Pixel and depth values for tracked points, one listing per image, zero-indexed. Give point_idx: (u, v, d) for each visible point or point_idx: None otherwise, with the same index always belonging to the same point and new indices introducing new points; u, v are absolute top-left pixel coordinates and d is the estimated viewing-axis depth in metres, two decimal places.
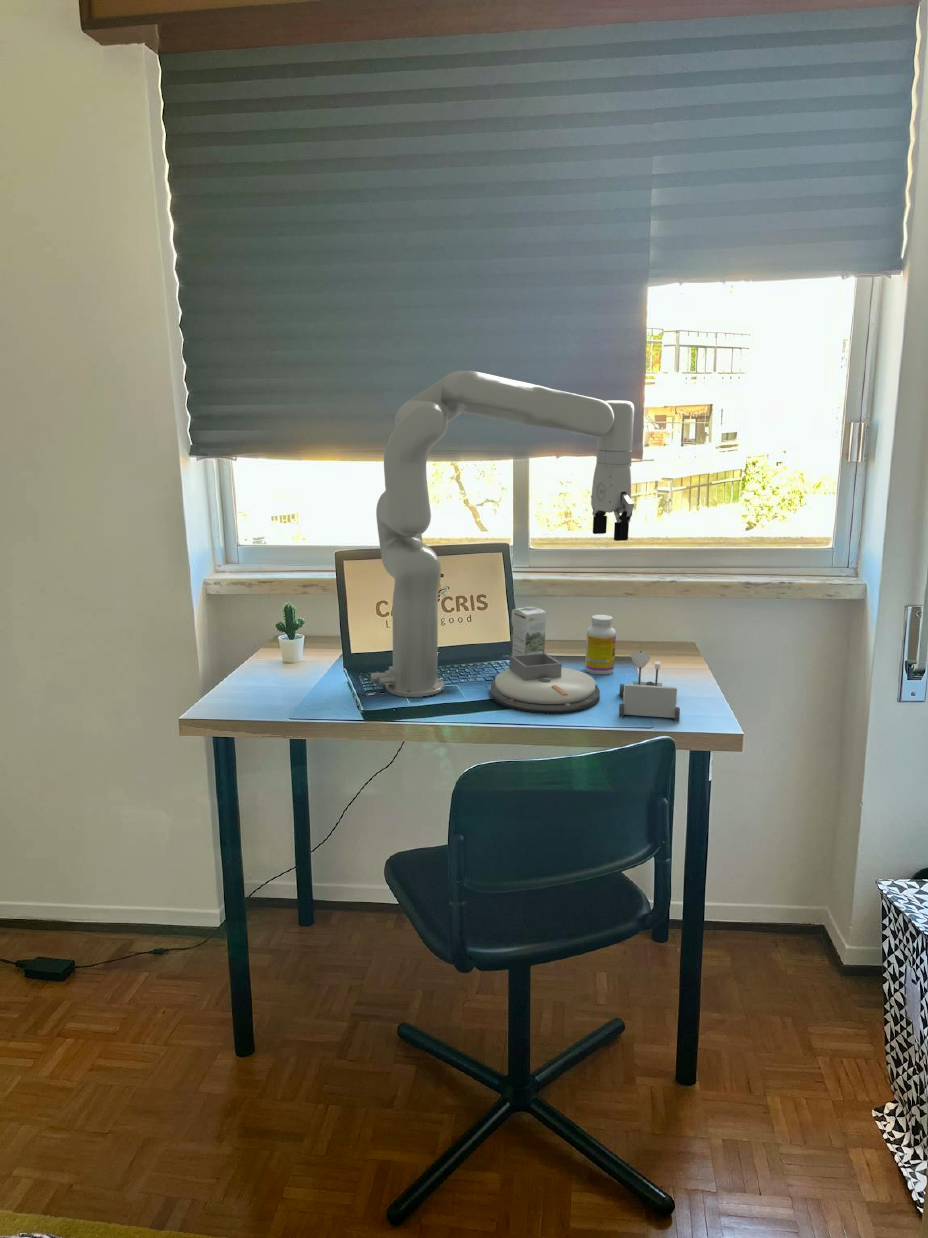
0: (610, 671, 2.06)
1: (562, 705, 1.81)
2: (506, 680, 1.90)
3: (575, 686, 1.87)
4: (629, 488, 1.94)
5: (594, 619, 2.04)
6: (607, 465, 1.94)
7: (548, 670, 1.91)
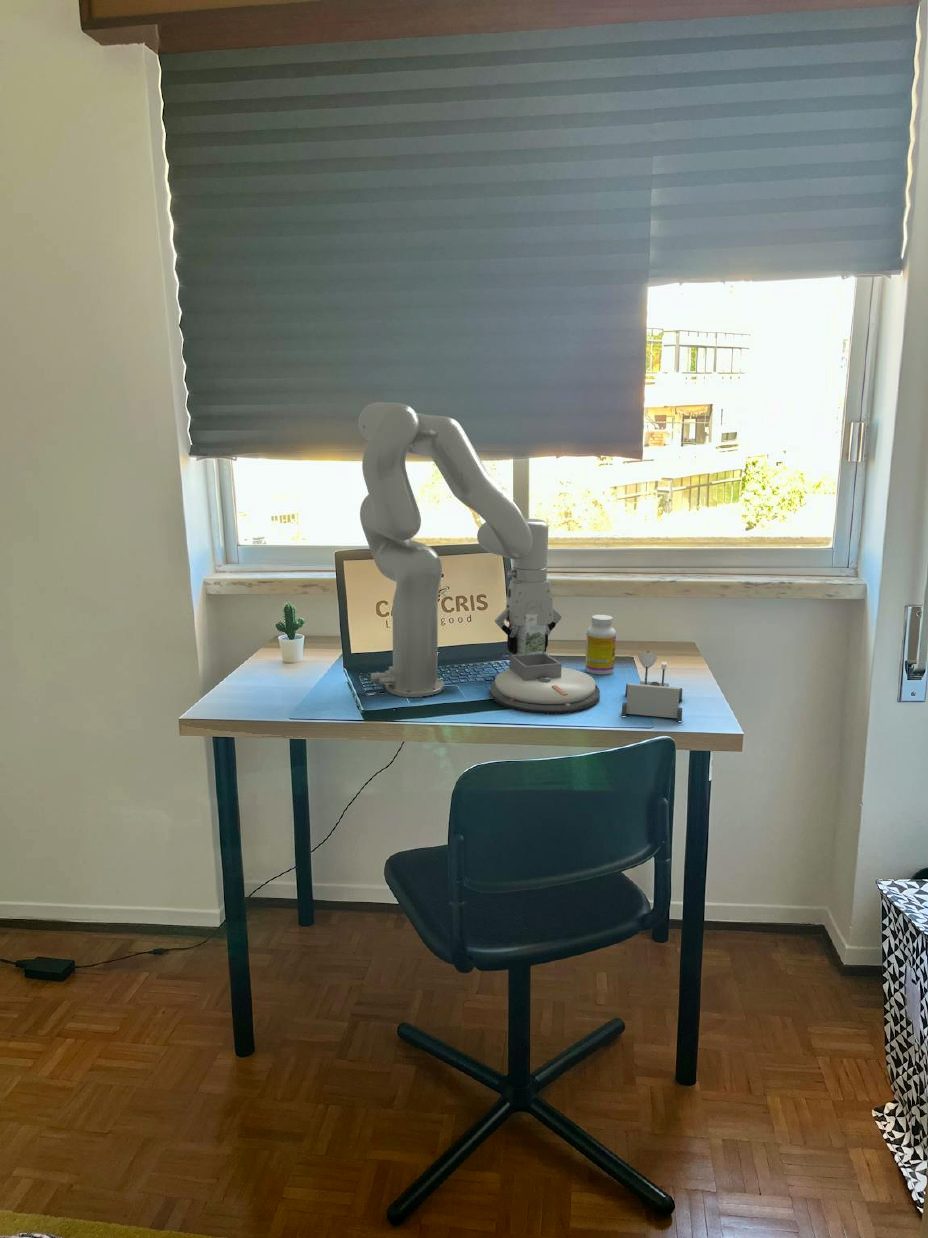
0: (610, 671, 2.06)
1: (562, 705, 1.81)
2: (506, 680, 1.90)
3: (575, 686, 1.87)
4: None
5: (594, 619, 2.04)
6: (544, 582, 2.01)
7: (548, 670, 1.91)
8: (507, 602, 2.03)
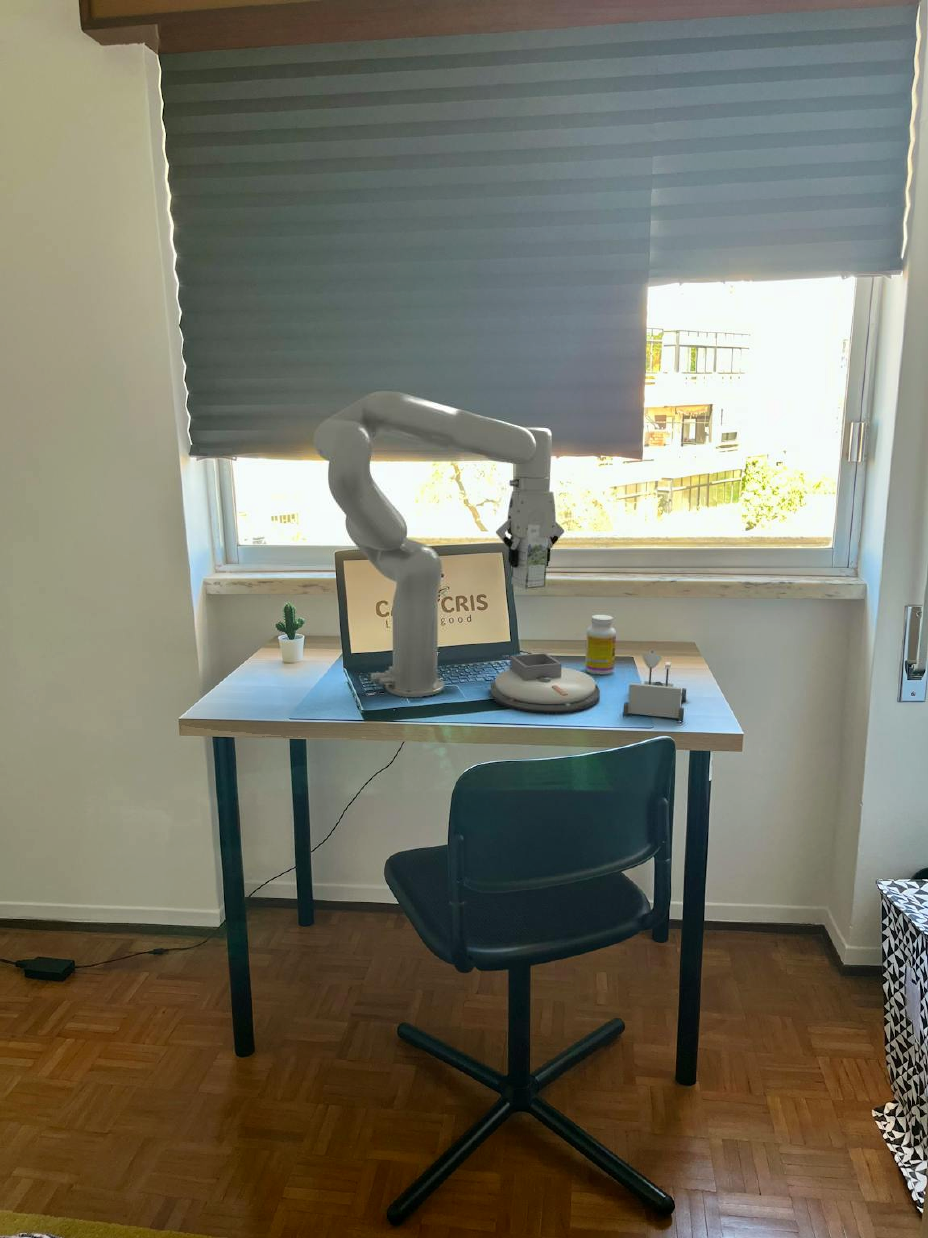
0: (610, 671, 2.06)
1: (562, 705, 1.81)
2: (506, 680, 1.90)
3: (575, 686, 1.87)
4: None
5: (594, 619, 2.04)
6: (547, 491, 1.96)
7: (548, 670, 1.91)
8: (509, 512, 1.98)
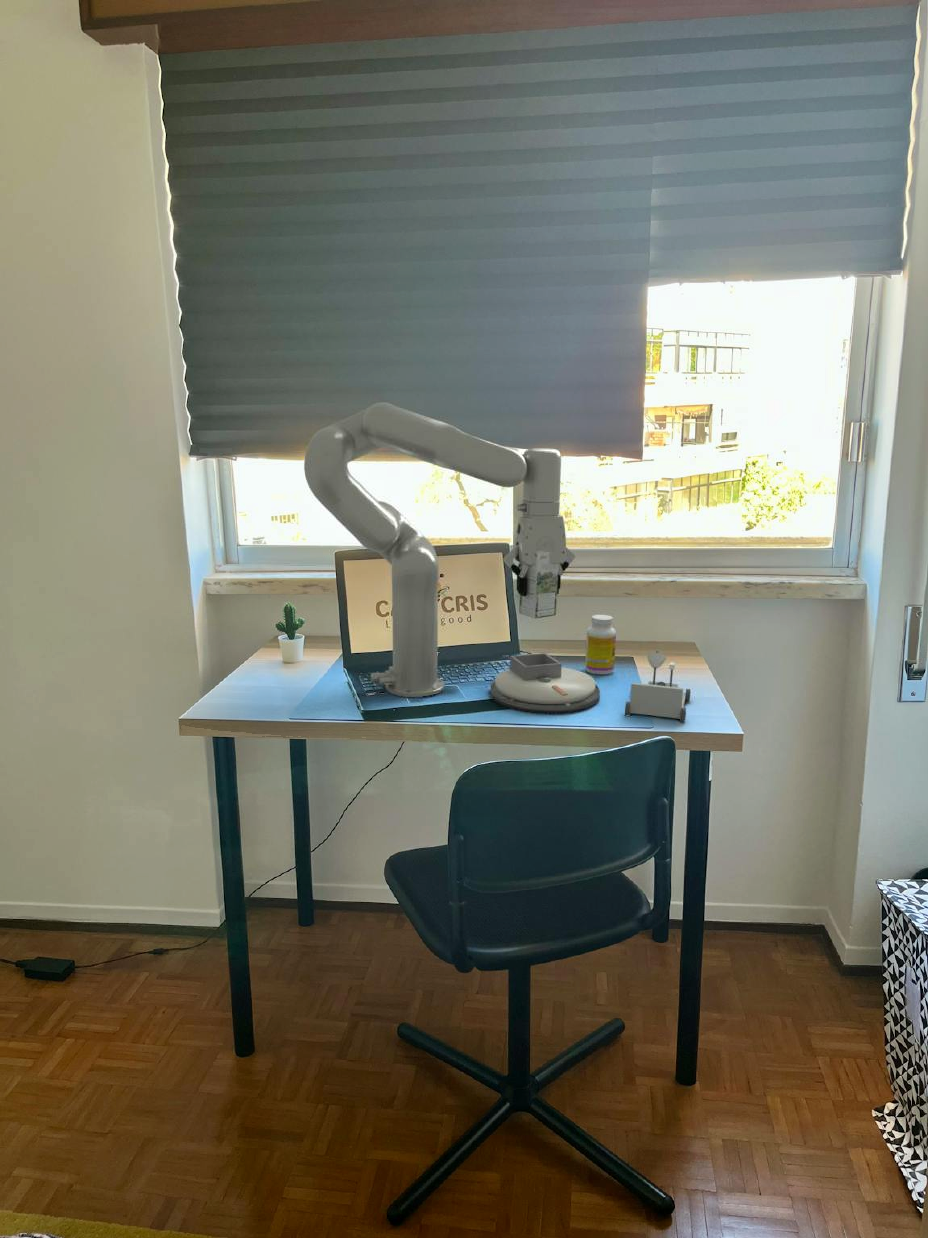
0: (610, 671, 2.06)
1: (562, 705, 1.81)
2: (506, 680, 1.90)
3: (575, 686, 1.87)
4: None
5: (594, 619, 2.04)
6: (557, 516, 1.85)
7: (548, 670, 1.91)
8: (517, 539, 1.87)
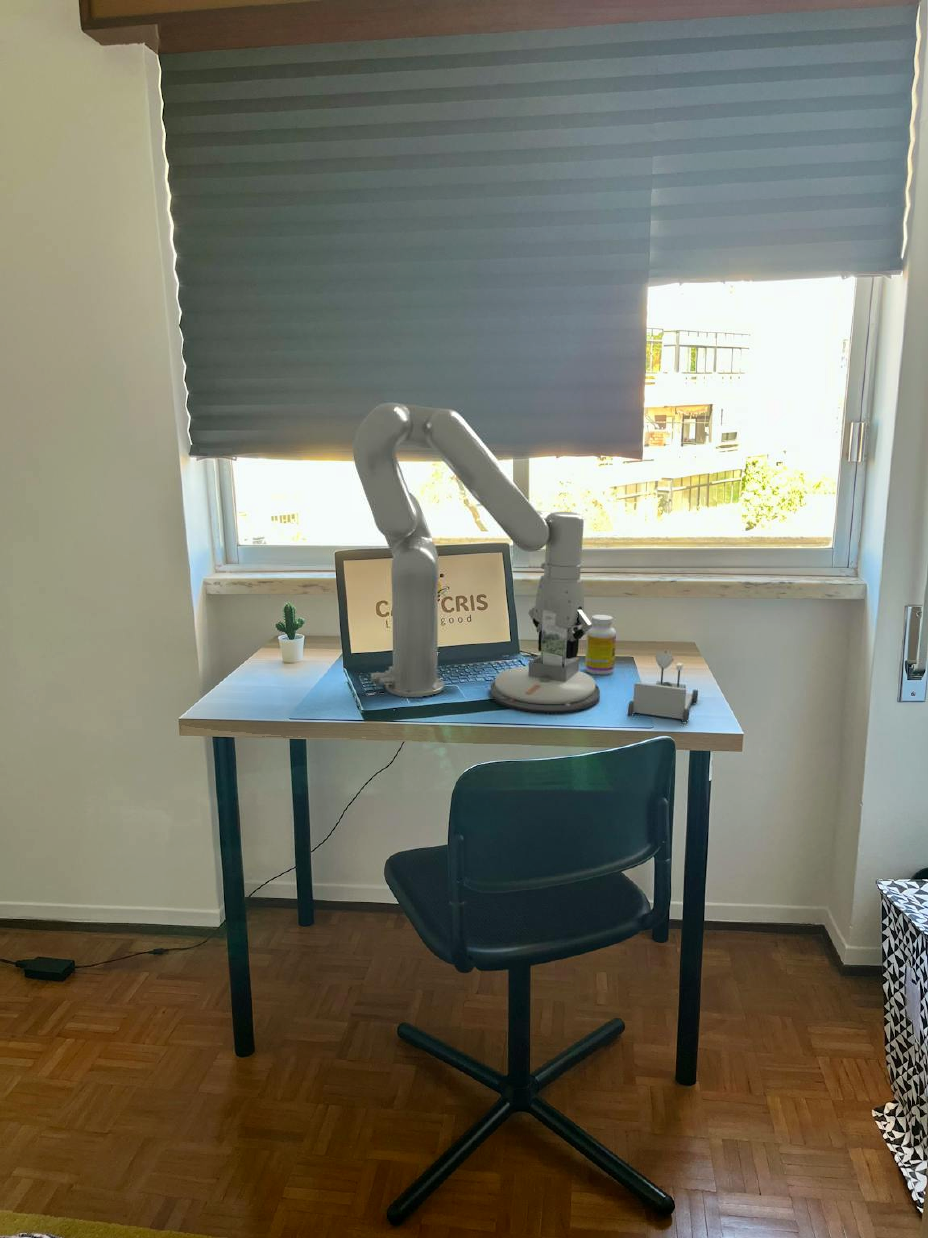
0: (610, 671, 2.06)
1: (562, 705, 1.81)
2: (514, 672, 1.96)
3: (556, 691, 1.84)
4: (583, 602, 1.88)
5: (594, 619, 2.04)
6: (563, 581, 1.86)
7: (552, 671, 1.91)
8: None
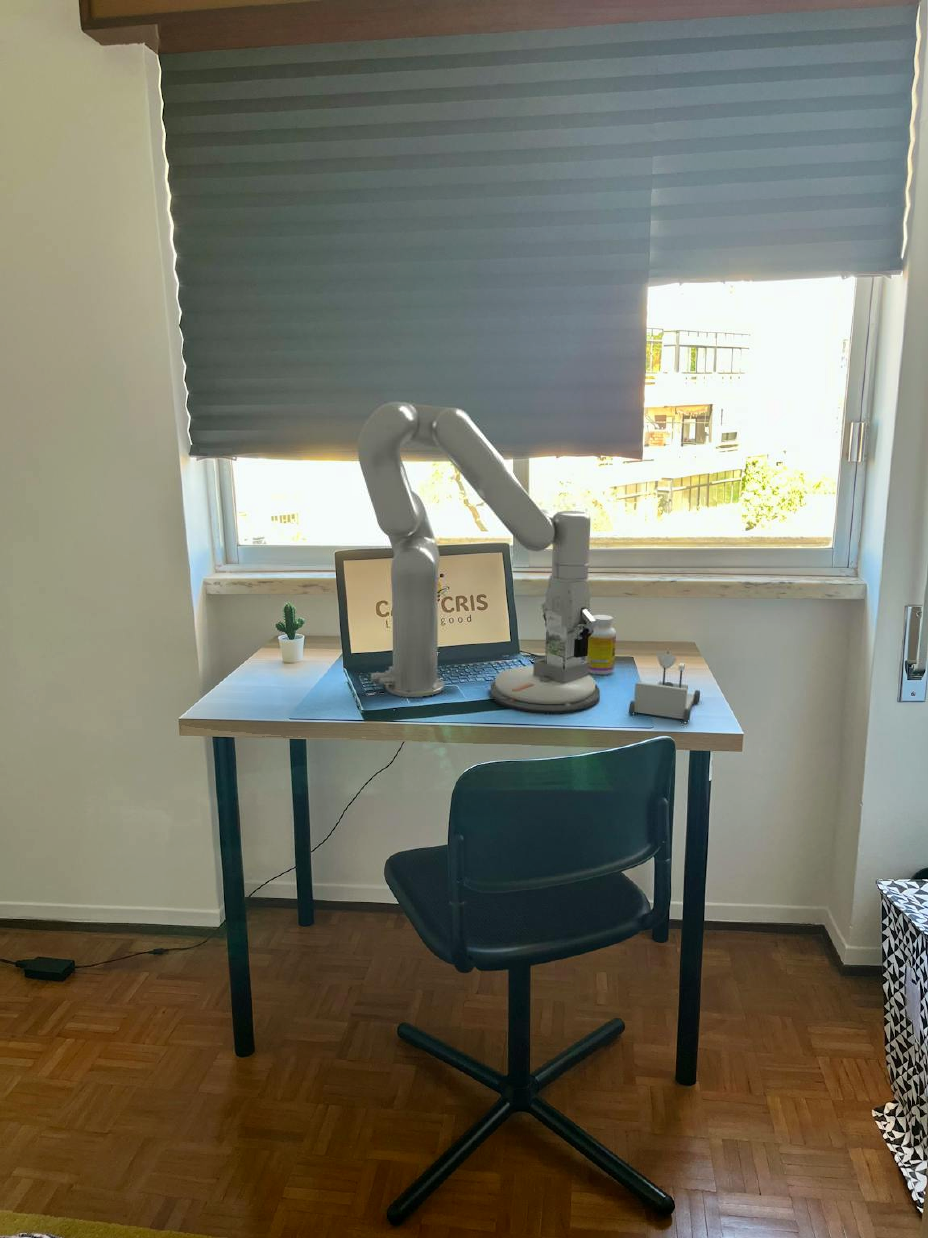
0: (610, 671, 2.06)
1: (562, 705, 1.81)
2: (523, 670, 1.97)
3: (544, 691, 1.84)
4: (588, 603, 1.86)
5: None
6: (565, 580, 1.84)
7: (553, 672, 1.90)
8: None
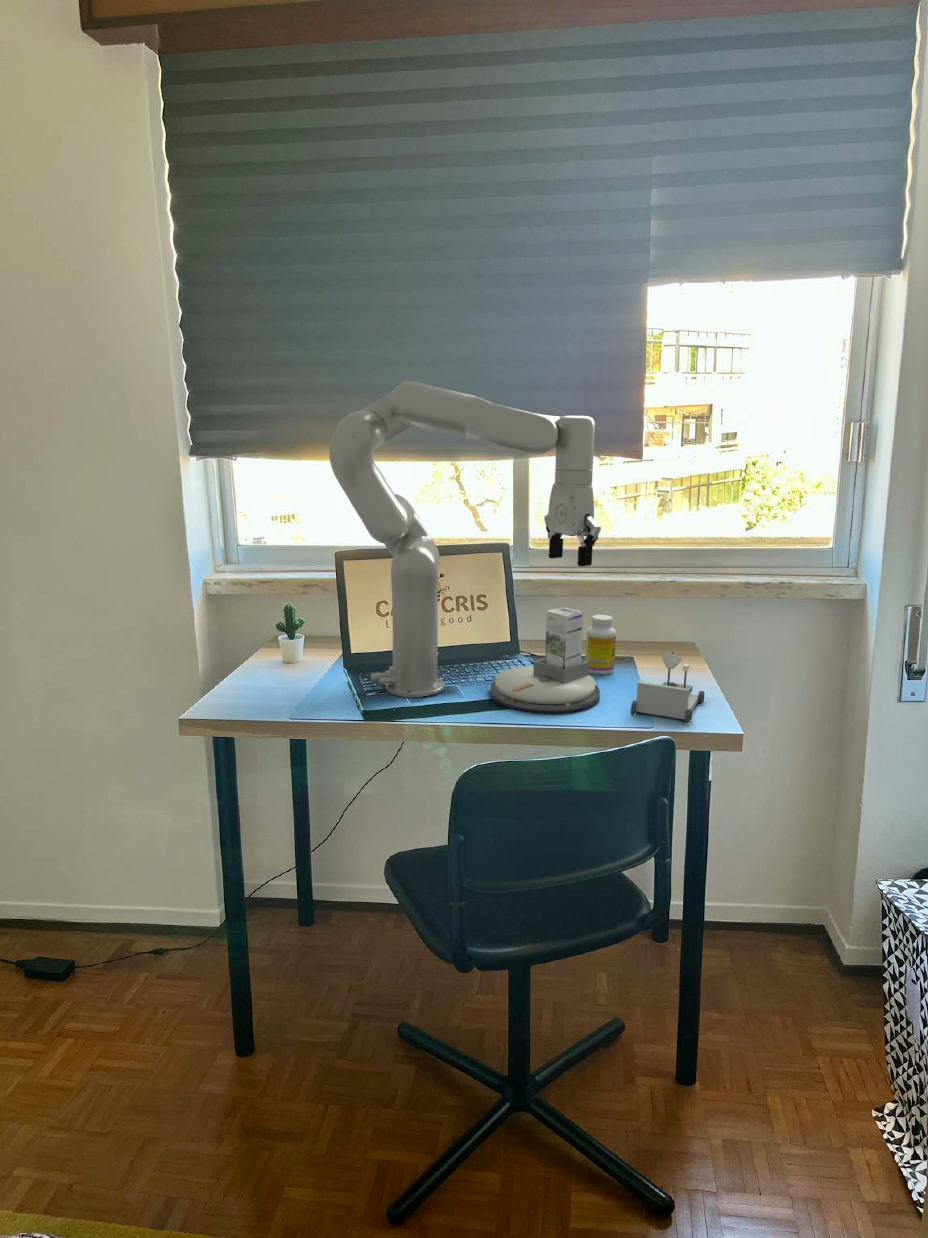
0: (610, 671, 2.06)
1: (562, 705, 1.81)
2: (523, 670, 1.97)
3: (544, 691, 1.84)
4: (592, 510, 1.81)
5: (594, 619, 2.04)
6: (569, 485, 1.80)
7: (553, 672, 1.90)
8: None
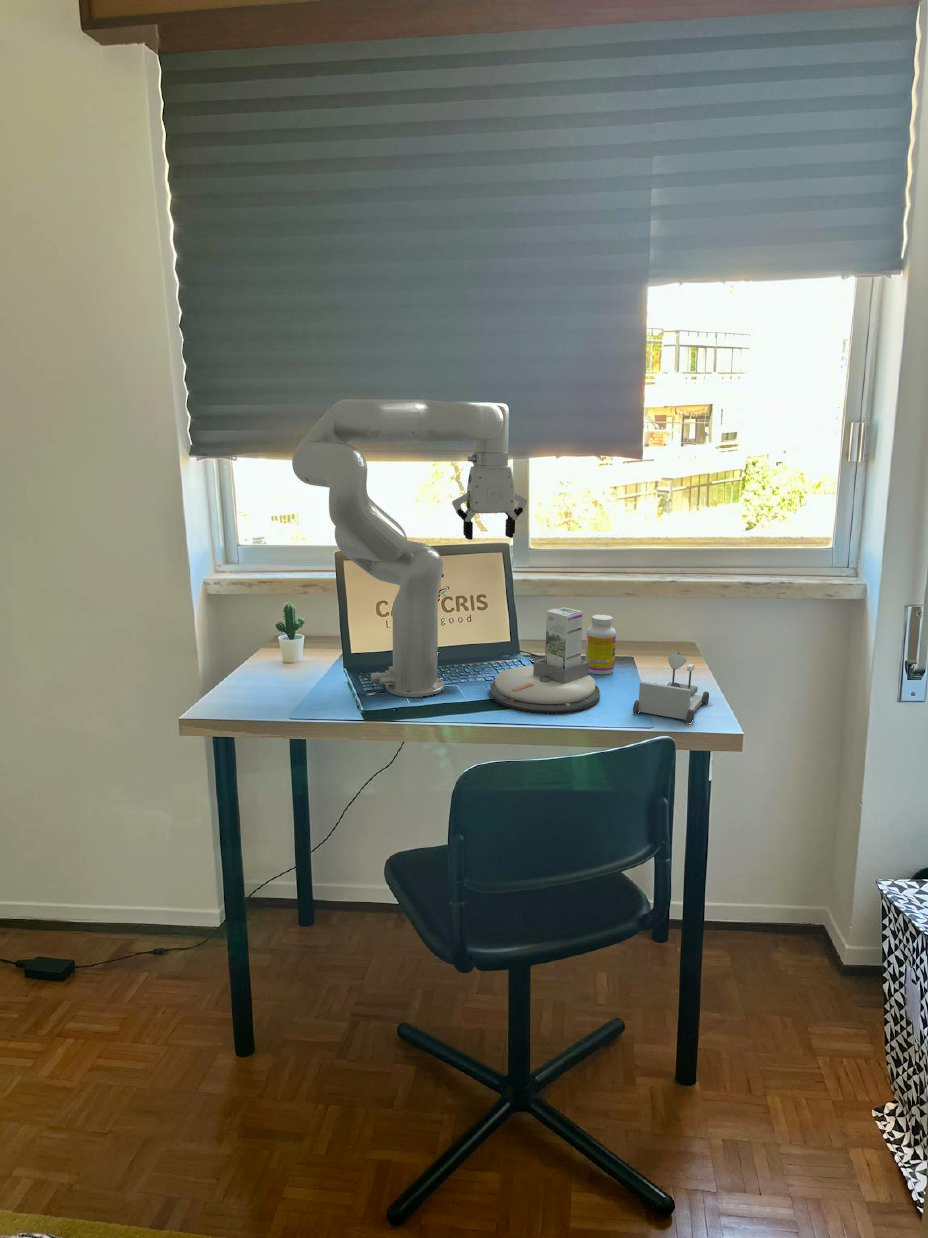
0: (610, 671, 2.06)
1: (562, 705, 1.81)
2: (523, 670, 1.97)
3: (544, 691, 1.84)
4: None
5: (594, 619, 2.04)
6: (505, 466, 1.97)
7: (553, 672, 1.90)
8: (468, 488, 1.99)
